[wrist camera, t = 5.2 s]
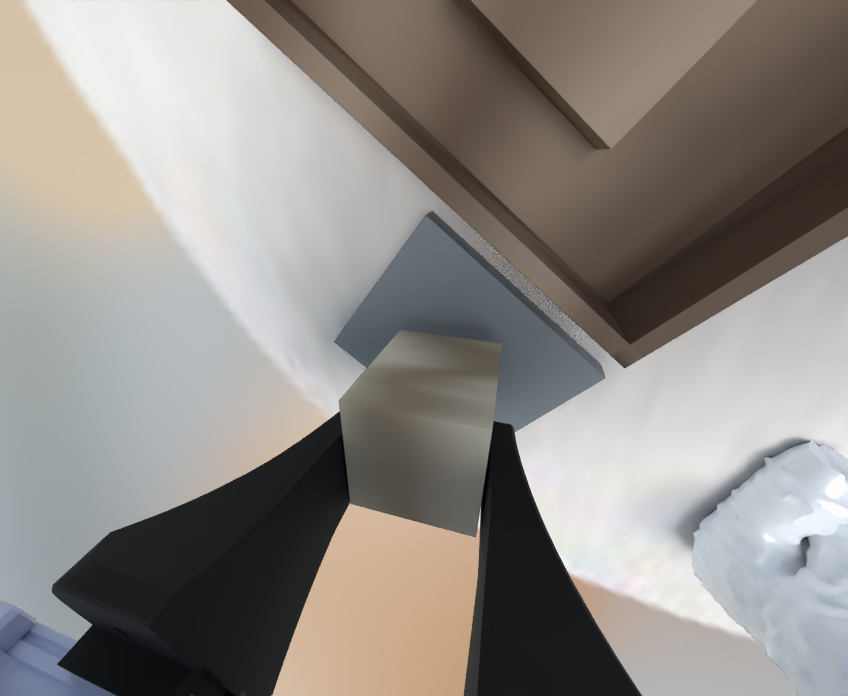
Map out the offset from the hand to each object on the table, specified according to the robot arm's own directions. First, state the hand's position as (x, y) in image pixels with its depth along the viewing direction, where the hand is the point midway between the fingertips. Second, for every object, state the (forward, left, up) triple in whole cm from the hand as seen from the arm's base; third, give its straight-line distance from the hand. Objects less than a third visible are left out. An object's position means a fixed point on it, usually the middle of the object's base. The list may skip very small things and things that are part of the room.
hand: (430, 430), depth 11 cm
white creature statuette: (-18, -4, -6) cm, 19 cm away
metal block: (0, 0, -3) cm, 3 cm away
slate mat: (0, 0, -6) cm, 6 cm away
